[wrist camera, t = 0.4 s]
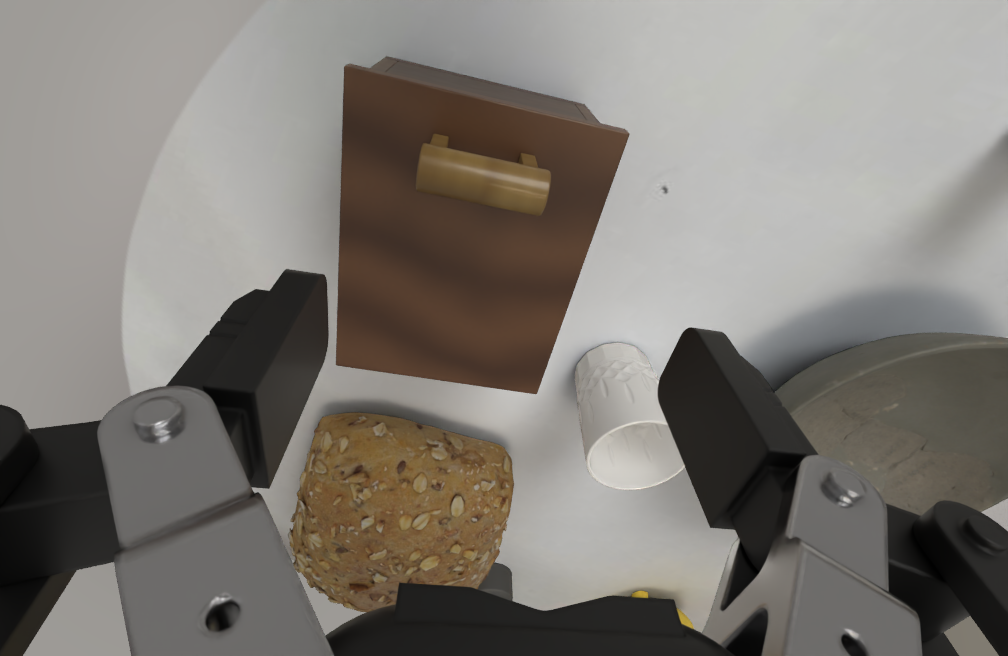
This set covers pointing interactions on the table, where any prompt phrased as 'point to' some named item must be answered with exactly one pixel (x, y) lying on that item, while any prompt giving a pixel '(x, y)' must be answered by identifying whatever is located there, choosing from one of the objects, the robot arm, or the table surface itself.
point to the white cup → (623, 419)
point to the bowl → (912, 416)
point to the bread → (397, 508)
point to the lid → (461, 229)
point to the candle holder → (498, 582)
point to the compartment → (484, 88)
